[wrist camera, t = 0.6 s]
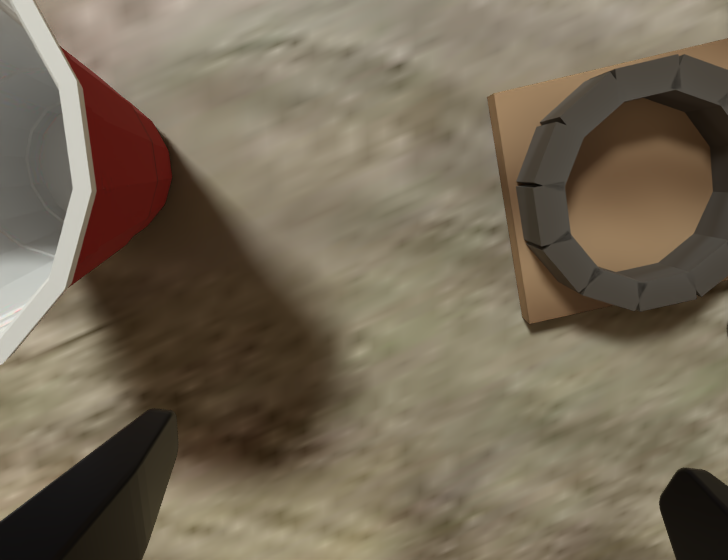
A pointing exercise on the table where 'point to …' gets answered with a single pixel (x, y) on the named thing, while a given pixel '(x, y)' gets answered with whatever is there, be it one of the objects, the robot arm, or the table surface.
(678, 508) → the robot arm
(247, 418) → the table surface
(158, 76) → the table surface
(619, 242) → the collar
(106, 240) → the plastic cup
